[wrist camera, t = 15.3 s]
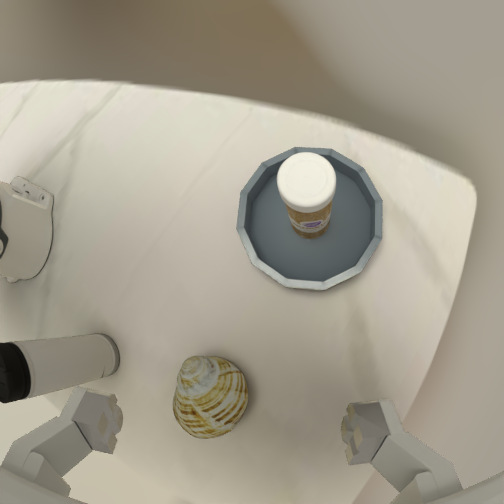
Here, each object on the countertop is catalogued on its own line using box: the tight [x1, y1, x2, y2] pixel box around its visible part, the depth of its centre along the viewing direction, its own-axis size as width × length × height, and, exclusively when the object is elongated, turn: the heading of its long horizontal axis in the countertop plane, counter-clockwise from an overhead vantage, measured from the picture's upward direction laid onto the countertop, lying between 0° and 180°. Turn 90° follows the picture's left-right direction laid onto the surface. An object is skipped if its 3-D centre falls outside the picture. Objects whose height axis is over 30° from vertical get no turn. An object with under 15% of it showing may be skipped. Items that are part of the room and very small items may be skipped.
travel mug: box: [0, 334, 119, 403], centre depth 30 cm, size 6×7×20 cm
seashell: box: [173, 356, 248, 439], centre depth 33 cm, size 10×10×10 cm
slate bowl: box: [236, 147, 382, 291], centre depth 35 cm, size 16×16×4 cm
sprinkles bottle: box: [277, 152, 336, 239], centre depth 29 cm, size 5×5×13 cm
